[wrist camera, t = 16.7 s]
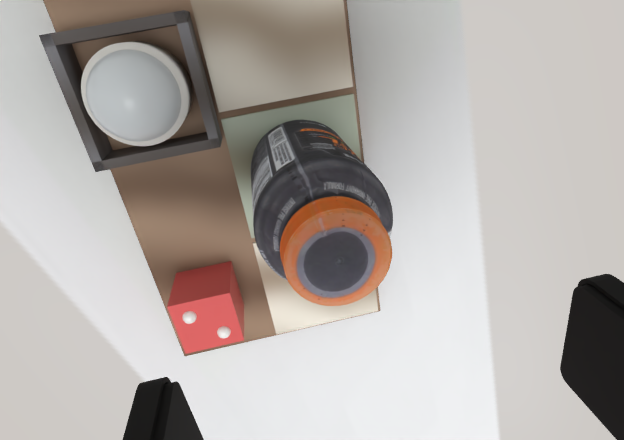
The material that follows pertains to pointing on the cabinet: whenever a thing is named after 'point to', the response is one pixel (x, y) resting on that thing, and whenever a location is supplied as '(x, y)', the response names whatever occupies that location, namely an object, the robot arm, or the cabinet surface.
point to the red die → (207, 307)
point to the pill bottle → (319, 214)
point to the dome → (136, 92)
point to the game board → (216, 130)
